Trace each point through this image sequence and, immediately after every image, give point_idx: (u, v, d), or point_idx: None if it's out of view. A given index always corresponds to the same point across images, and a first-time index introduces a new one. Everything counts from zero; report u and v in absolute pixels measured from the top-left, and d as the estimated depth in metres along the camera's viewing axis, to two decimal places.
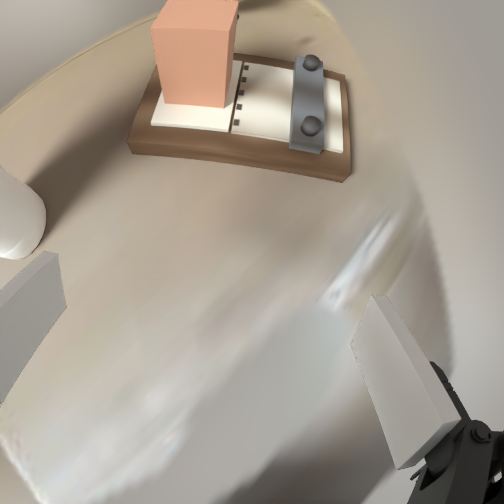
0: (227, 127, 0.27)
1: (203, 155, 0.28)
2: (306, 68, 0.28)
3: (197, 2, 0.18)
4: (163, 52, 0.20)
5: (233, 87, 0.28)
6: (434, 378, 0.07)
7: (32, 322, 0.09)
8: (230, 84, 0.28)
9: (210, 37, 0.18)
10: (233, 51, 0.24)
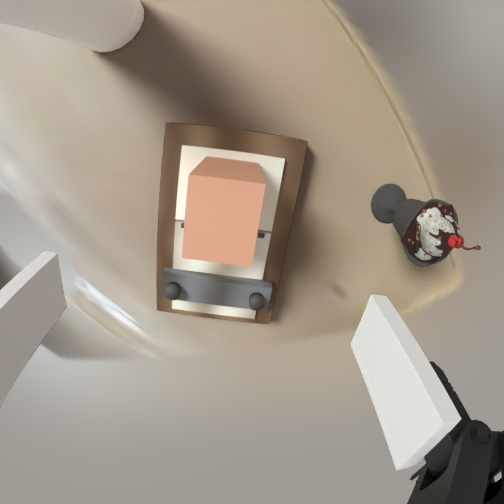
0: (177, 218, 0.30)
1: None
2: (251, 295, 0.33)
3: (247, 221, 0.20)
4: None
5: None
6: (435, 378, 0.07)
7: (32, 322, 0.09)
8: None
9: None
10: None
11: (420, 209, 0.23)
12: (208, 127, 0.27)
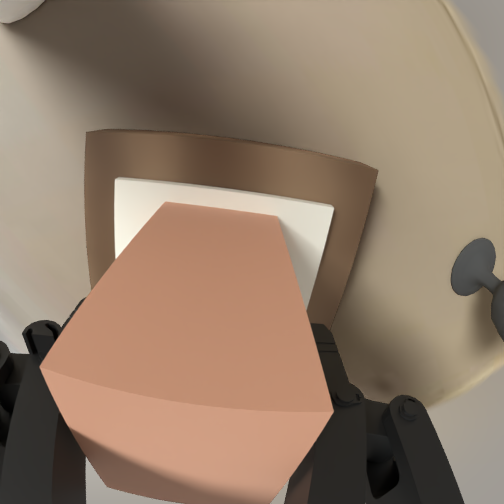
0: None
1: None
2: None
3: (260, 473, 0.05)
4: None
5: None
6: None
7: None
8: None
9: None
10: None
11: None
12: (168, 137, 0.12)
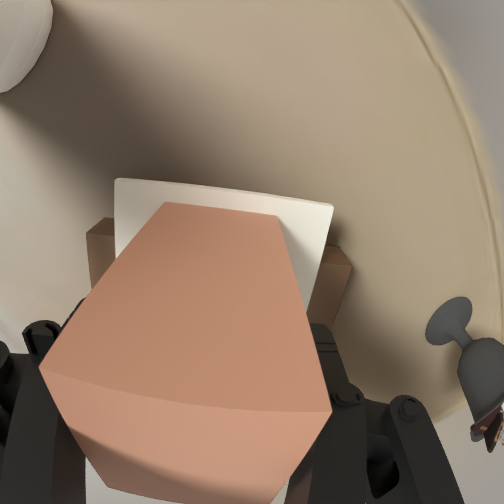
0: None
1: None
2: None
3: (259, 473, 0.05)
4: None
5: None
6: None
7: None
8: None
9: None
10: None
11: None
12: None
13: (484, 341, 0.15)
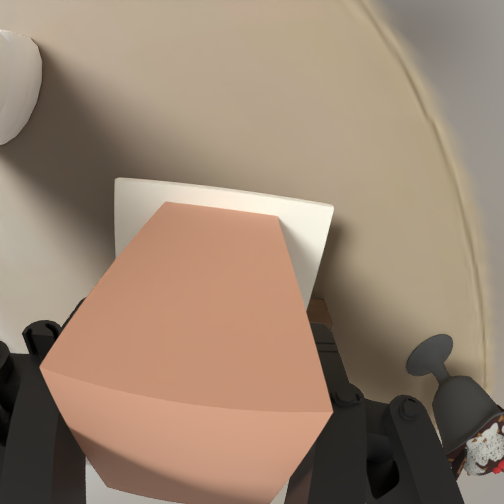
0: None
1: None
2: None
3: (259, 473, 0.05)
4: None
5: None
6: None
7: None
8: None
9: None
10: None
11: (475, 433, 0.12)
12: None
13: (458, 380, 0.17)
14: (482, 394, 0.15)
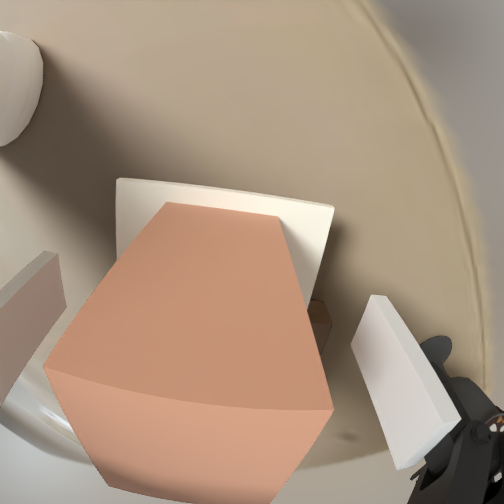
0: None
1: None
2: None
3: (260, 472, 0.05)
4: None
5: None
6: (435, 378, 0.07)
7: (32, 322, 0.09)
8: None
9: None
10: None
11: None
12: None
13: (457, 381, 0.17)
14: (481, 395, 0.15)
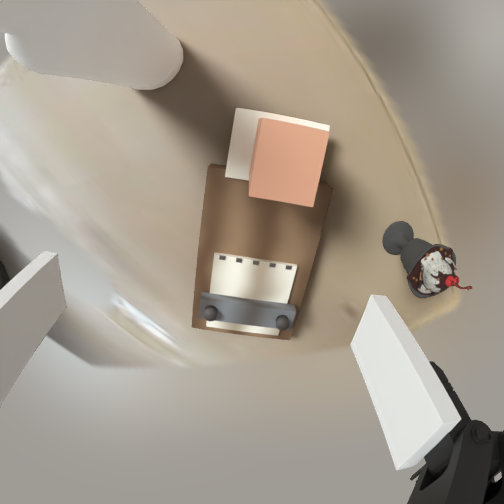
0: (227, 176, 0.32)
1: None
2: (278, 317, 0.38)
3: (312, 163, 0.22)
4: (259, 127, 0.23)
5: None
6: (435, 378, 0.07)
7: (32, 322, 0.09)
8: None
9: (251, 177, 0.23)
10: None
11: (424, 253, 0.28)
12: None
13: (413, 239, 0.33)
14: (429, 243, 0.31)
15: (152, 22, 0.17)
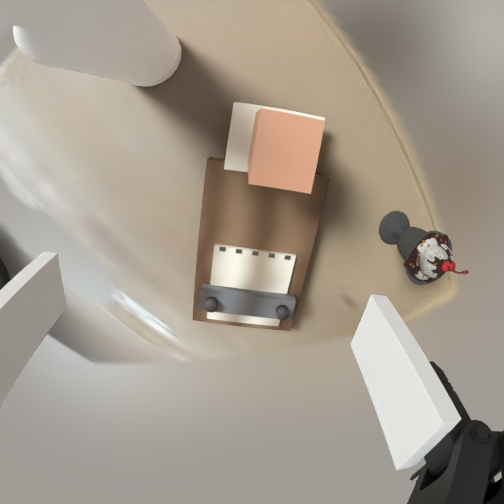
0: (226, 168, 0.32)
1: None
2: (278, 307, 0.38)
3: (309, 151, 0.22)
4: (257, 118, 0.24)
5: None
6: (435, 378, 0.07)
7: (32, 322, 0.09)
8: None
9: None
10: None
11: (420, 240, 0.29)
12: None
13: (409, 227, 0.34)
14: (425, 231, 0.32)
15: (153, 19, 0.18)
